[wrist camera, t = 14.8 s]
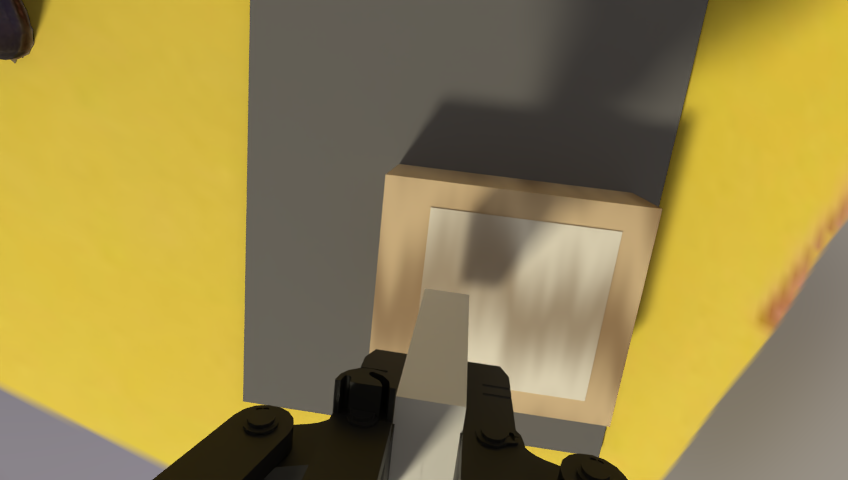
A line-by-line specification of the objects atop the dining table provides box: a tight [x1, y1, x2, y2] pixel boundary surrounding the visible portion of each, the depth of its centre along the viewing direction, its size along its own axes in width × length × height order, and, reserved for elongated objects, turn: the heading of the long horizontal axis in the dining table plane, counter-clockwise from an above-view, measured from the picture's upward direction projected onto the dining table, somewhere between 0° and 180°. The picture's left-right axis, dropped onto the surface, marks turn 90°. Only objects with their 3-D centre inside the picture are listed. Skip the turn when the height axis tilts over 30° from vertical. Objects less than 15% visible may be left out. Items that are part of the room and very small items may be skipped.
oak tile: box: [369, 164, 662, 427], centre depth 21 cm, size 9×4×10 cm
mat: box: [243, 0, 708, 457], centre depth 23 cm, size 21×18×1 cm
